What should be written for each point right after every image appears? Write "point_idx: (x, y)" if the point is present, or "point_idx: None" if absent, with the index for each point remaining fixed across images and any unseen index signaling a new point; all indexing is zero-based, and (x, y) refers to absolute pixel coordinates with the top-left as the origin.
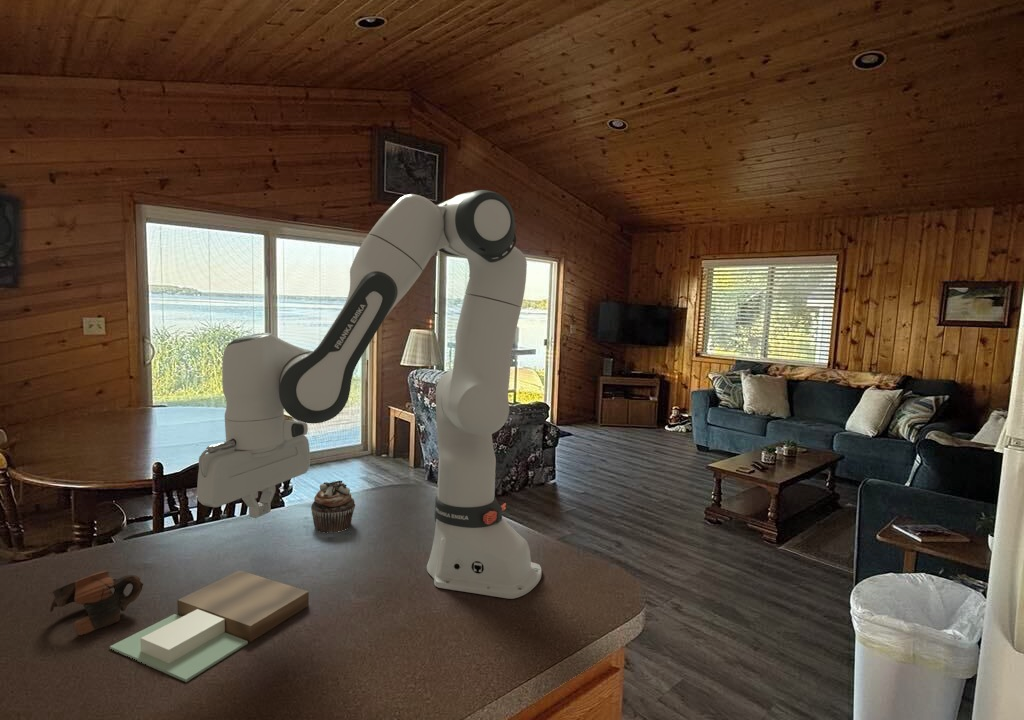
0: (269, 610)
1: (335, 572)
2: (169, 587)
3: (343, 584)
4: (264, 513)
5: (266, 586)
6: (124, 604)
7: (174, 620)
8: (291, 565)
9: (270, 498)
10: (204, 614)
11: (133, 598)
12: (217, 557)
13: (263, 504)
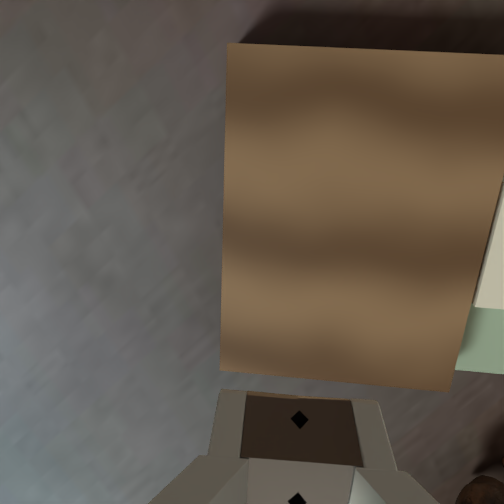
0: (409, 77)
1: (8, 127)
2: None
3: (53, 35)
4: (289, 397)
5: (268, 218)
6: (500, 487)
7: (476, 345)
8: (61, 292)
9: (198, 491)
10: (499, 263)
11: (487, 487)
12: (144, 488)
13: (284, 474)
